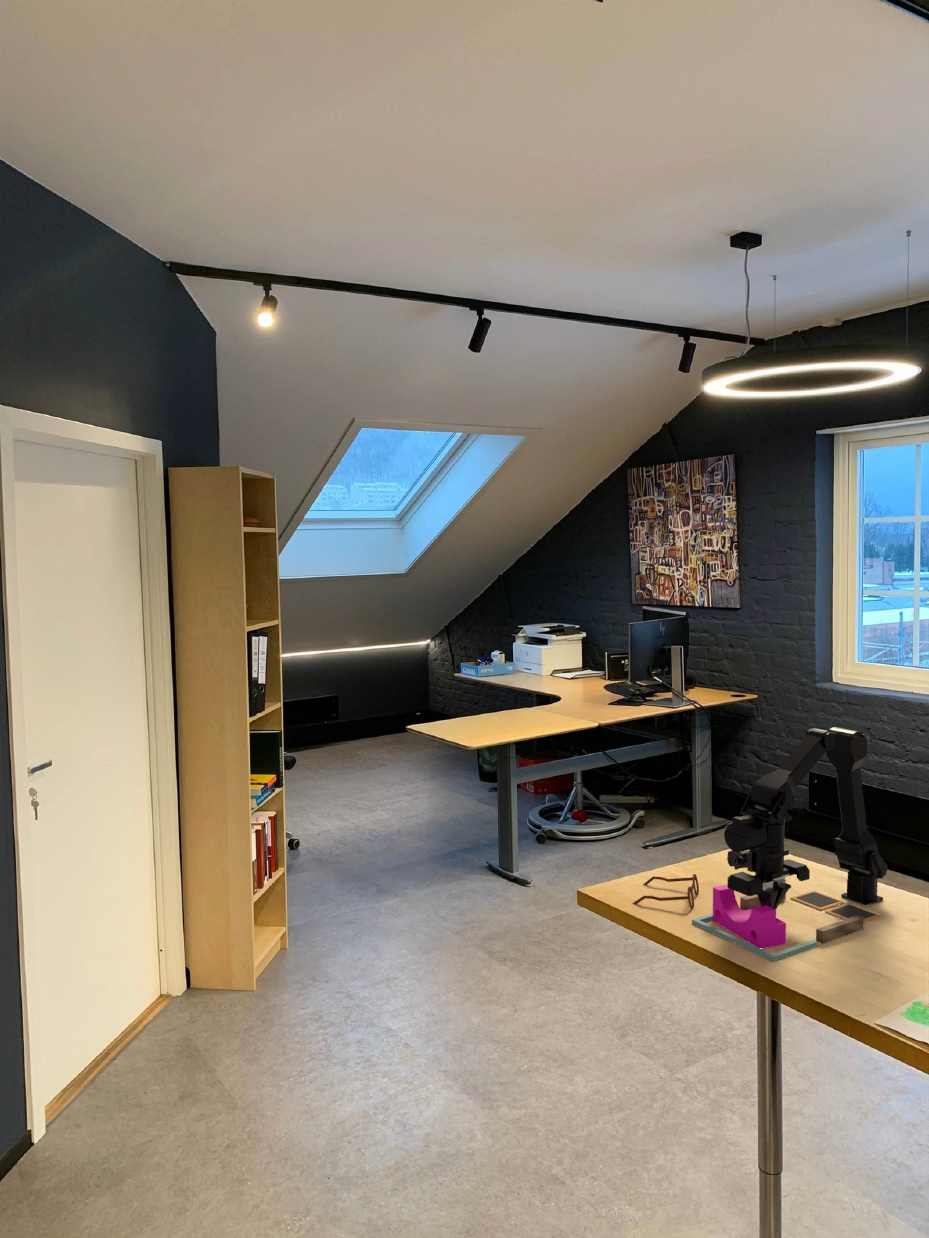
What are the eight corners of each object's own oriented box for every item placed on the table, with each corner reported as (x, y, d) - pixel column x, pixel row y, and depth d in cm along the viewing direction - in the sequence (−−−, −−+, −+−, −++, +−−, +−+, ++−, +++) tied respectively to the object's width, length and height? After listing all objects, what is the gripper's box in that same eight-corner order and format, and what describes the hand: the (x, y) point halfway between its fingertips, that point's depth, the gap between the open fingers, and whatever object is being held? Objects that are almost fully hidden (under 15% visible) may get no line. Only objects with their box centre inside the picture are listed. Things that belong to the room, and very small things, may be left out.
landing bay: (735, 910, 196) (735, 906, 196) (817, 945, 178) (817, 941, 178) (692, 923, 189) (692, 919, 189) (772, 961, 171) (772, 957, 171)
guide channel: (780, 896, 203) (780, 886, 203) (863, 929, 185) (863, 917, 185) (740, 908, 197) (740, 897, 196) (822, 943, 179) (822, 931, 178)
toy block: (785, 944, 179) (786, 908, 178) (760, 950, 177) (760, 912, 176) (736, 917, 193) (737, 882, 192) (712, 921, 191) (713, 887, 190)
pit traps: (813, 891, 206) (813, 889, 206) (881, 916, 192) (881, 914, 192) (790, 898, 202) (790, 897, 202) (857, 924, 188) (857, 923, 188)
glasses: (692, 914, 195) (692, 891, 195) (632, 905, 200) (632, 883, 200) (699, 892, 208) (699, 871, 207) (642, 885, 212) (643, 864, 212)
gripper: (768, 826, 196) (767, 895, 197) (707, 840, 187) (706, 913, 188) (812, 839, 187) (810, 912, 188) (749, 855, 177) (748, 932, 178)
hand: (768, 917), depth 186 cm, fingers closed
